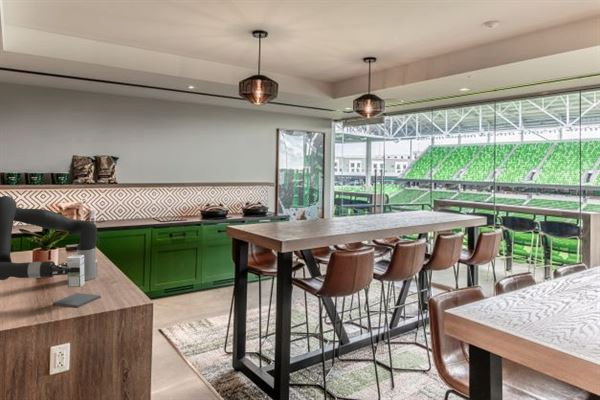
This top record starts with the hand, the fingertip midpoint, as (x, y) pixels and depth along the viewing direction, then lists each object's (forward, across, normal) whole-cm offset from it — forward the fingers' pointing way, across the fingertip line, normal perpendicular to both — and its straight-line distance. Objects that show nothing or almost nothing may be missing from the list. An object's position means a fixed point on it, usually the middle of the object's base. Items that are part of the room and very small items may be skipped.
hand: (81, 268), depth 184 cm
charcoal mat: (-2, 0, +16) cm, 16 cm away
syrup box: (-2, 0, +9) cm, 9 cm away
